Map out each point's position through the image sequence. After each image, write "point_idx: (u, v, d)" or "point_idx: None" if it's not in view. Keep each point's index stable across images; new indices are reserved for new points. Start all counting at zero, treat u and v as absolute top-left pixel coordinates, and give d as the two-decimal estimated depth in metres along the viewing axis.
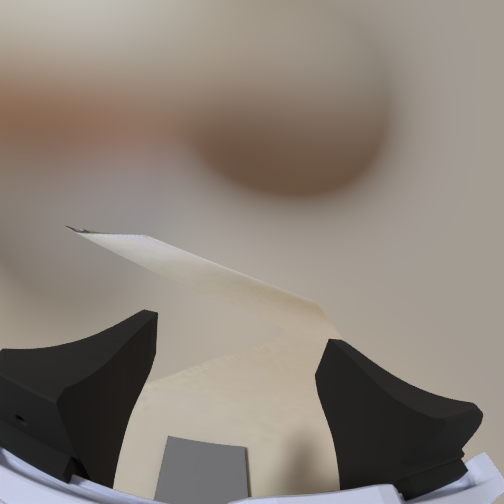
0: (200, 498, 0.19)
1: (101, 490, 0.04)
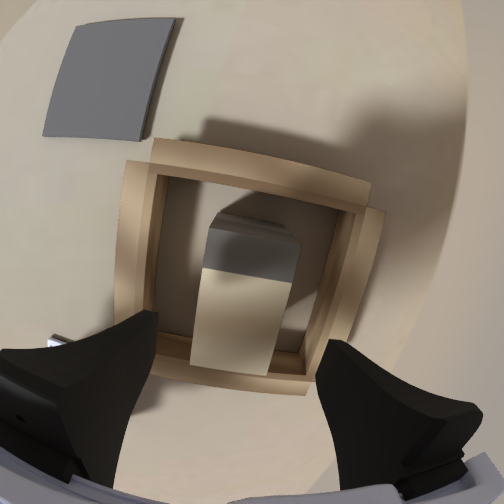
0: (87, 118, 0.16)
1: (101, 490, 0.04)
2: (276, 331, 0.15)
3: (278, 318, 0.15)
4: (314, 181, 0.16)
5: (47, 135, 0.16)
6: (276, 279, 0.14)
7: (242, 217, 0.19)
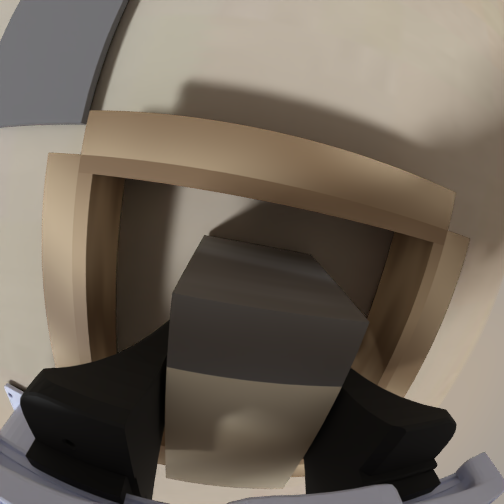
0: (20, 97, 0.09)
1: (101, 490, 0.04)
2: (304, 448, 0.07)
3: (310, 434, 0.07)
4: (376, 186, 0.08)
5: None
6: (312, 382, 0.07)
7: (245, 244, 0.11)
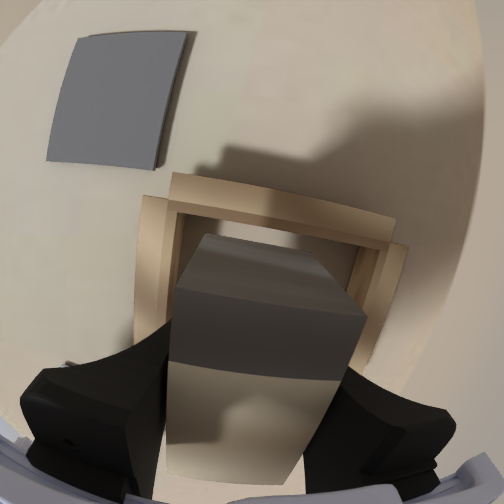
0: (94, 143, 0.16)
1: (101, 490, 0.04)
2: (304, 443, 0.07)
3: (310, 429, 0.07)
4: (341, 219, 0.15)
5: (51, 160, 0.16)
6: (312, 377, 0.07)
7: (245, 241, 0.11)
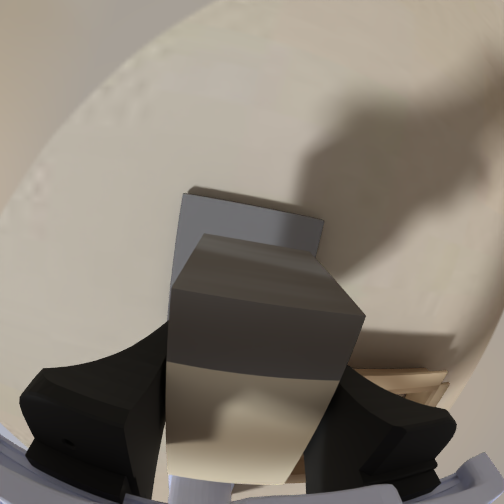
0: None
1: (101, 490, 0.04)
2: (304, 443, 0.07)
3: (309, 429, 0.07)
4: (416, 382, 0.19)
5: None
6: (310, 376, 0.07)
7: (244, 241, 0.11)
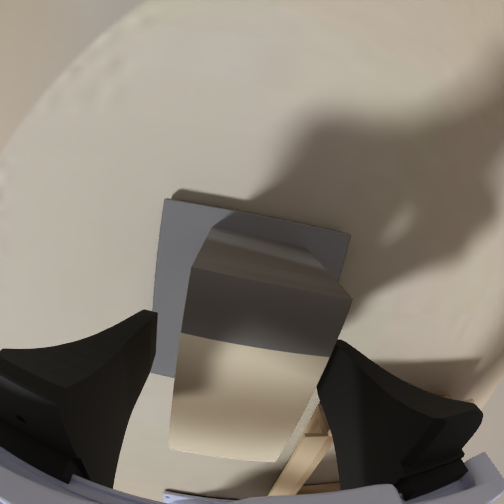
0: None
1: (101, 490, 0.04)
2: (296, 417, 0.09)
3: (301, 403, 0.09)
4: None
5: (159, 372, 0.15)
6: (303, 352, 0.08)
7: (248, 236, 0.13)
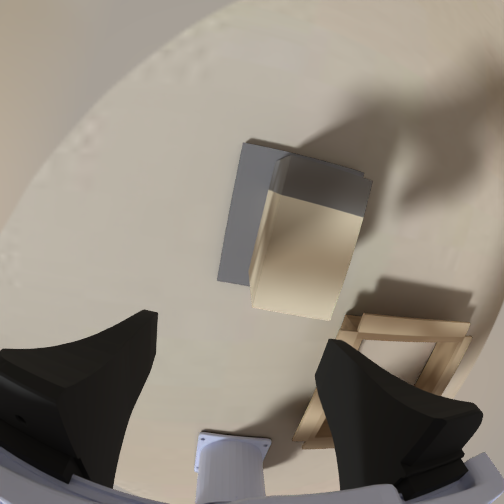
0: None
1: (101, 490, 0.04)
2: (345, 268, 0.15)
3: (349, 254, 0.14)
4: (445, 330, 0.20)
5: (224, 280, 0.21)
6: (348, 213, 0.14)
7: None
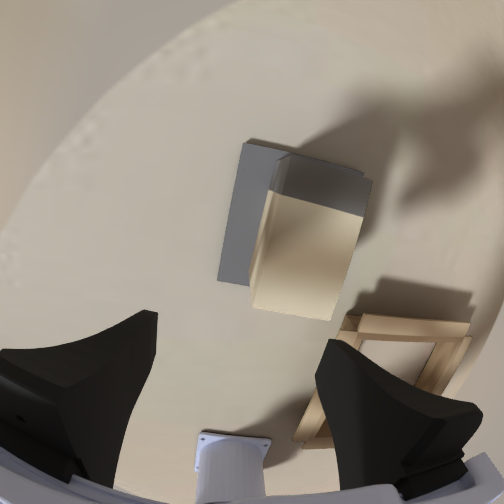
0: None
1: (101, 490, 0.04)
2: (345, 268, 0.15)
3: (349, 254, 0.14)
4: (445, 330, 0.20)
5: (224, 280, 0.21)
6: (348, 213, 0.14)
7: None
